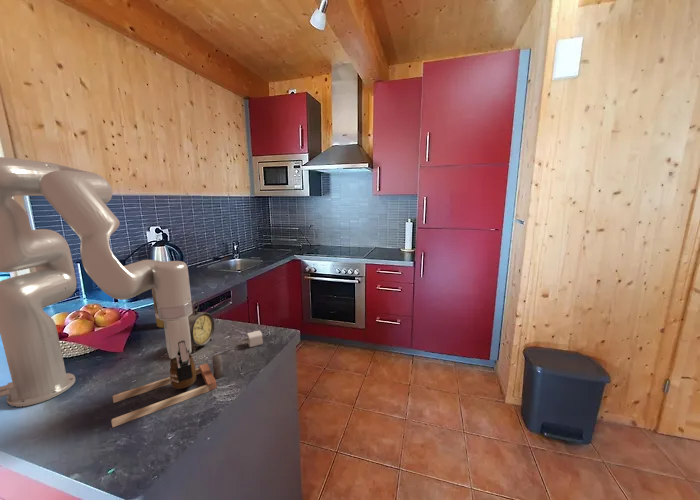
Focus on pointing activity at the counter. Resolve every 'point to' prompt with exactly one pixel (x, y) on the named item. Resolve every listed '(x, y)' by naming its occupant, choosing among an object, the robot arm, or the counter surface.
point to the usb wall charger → (253, 339)
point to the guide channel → (157, 406)
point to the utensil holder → (174, 376)
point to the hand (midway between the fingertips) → (183, 372)
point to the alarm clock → (200, 327)
